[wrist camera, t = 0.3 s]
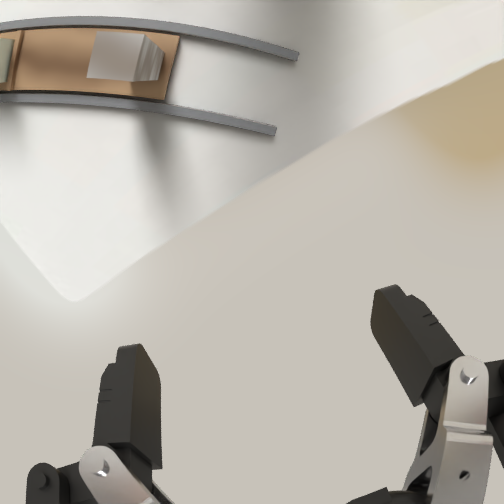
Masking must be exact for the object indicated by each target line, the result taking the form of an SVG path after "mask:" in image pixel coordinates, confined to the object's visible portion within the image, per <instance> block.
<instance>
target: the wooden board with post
mask: <svg viewBox="0 0 504 504" xmlns="http://www.w3.org/2000/svg"><path fill="white" fill-rule="evenodd" d="M0 38H5V39H15V43H14V47H13V52H12V57H11V63H10V68H9V74H8V81H7V82H3V83H0V90H6V91H11V90H65V91H84V92H98V93H109V94H120V95H129V96H137V97H145V98H153V99H160V100H164V99H165V95H166V90H167V86H168V82H169V78H170V74H171V70H172V66H173V62H174V58H175V54H176V51H177V47H178V44H179V40H180V36H176V35H169V34H161V33H153V32H144V31H134V30H121V29H101V28H56V29H38V30H25V31H24V30H17V31H15V32H7V33H0Z"/></svg>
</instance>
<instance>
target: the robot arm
mask: <svg viewBox="0 0 504 504" xmlns="http://www.w3.org/2000/svg"><path fill="white" fill-rule="evenodd" d="M371 329H372V333H373V335H374V337H375V339H376V341H377V342H378V344H379V346H380V348H381V349H382V351H383V352H384V354H385V356H386V358H387V360H388V361H389V363H390V365H391V367H392V368H393V370H394V372H395V374H396V375H397V377H398V379H399V381H400V383H401V384H402V386H403V388H404V390H405V392H406V393H407V395H408V397H409V399H410V401H411V402H412V404H413V406H414V407H416V406H417V405H420V404H422V403H425V405H426V407H427V410H426V412H425V417H424V422H423V427H422V431H421V436H420V440H419V444H418V449H417V452H416V456H415V459H414V462H413V464H412V466H411V467H410V470H409V472H408V474H407V477H406V480H405V483H404V487H403V489H402V491H389V492H388V490H387V487H385V488H383V489H380V490H378V491H376V492H373V493H370V494H368V495H365V496H362V497H359V498H357V499H354V500H352V501H350V502H348V503H347V504H483V501H484V496H485V492H486V487H487V481H488V475H489V469H490V463H491V455H492V448H493V446H494V448H495V450H496V453H497V455H498V457H499V459H500V461H501V463H502V466H503V468H504V360H498V361H493V362H486V363H483V362H482V361H481V360H480V359H478V358H476V357H473V356H465V355H464V354H463V353H462V352H461V350H460V349H459V347H458V346H457V345H456V343H455V342H454V341H453V339H452V338H451V337H450V335H449V334H448V333H447V331H446V330H445V329H444V327H443V326H442V325H441V323H439V322H438V320H437V318H436V317H435V316H434V315H432V312H431V311H430V309H429V308H428V307H427V306H426V304H425V303H424V302H423V301H421V300H419V299H418V298H416V297H415V296H413V295H409V296H406V295H405V293H404V292H403V291H402V289H401V288H400V287H399V286H398V285H391V286H388V287H385V288H381V289H378V290H376V291H375V293H374V300H373V307H372V314H371ZM161 448H162V447H161V383H160V378H159V374H158V371H157V369H156V368H155V366H154V364H153V363H152V361H151V359H150V358H149V356H148V354H147V352H146V351H145V349H144V347H143V346H142V345H141V344H134V345H127V346H122V347H119V348H118V350H117V357H116V363H111V364H108V366H107V368H106V369H105V371H104V373H103V375H102V377H101V383H100V393H99V396H98V404H97V411H96V419H95V428H94V437H93V445H92V447H91V448H90V449H88V450H87V451H86V452H85V453H84V454H83V455H82V457H81V459H80V461H79V462H77V463H74V464H71V465H67V466H64V467H61V468H58V469H56V468H55V467H53V466H51V465H50V464H47V463H39V464H37V465H35V466H34V467H33V468H32V469H31V470H30V472H29V474H28V477H27V489H26V504H174V503H173V502H172V500H171V499H170V498H169V497H167V495H166V494H165V493H164V492H163V491H162V490H161V489H160V488H159V487H158V486H157V484H156V483H155V482H154V481H153V480H152V470H155V469H162V449H161Z"/></svg>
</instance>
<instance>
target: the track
mask: <svg viewBox="0 0 504 504" xmlns="http://www.w3.org/2000/svg"><path fill="white" fill-rule="evenodd" d="M51 26H110V27H126V28H138V29H148V30H157V31H165V32H172V33H179V34H185V35H191V36H197V37H202V38H208V39H213V40H217V41H222V42H227V43H231V44H235V45H239V46H244V47H247V48H251V49H255V50H259V51H263V52H266V53H270V54H273V55H276V56H280V57H283V58H286V59H289V60H293V61H297V59H298V56H299V52H296V51H293V50H290V49H287V48H284V47H280V46H277V45H274V44H270V43H267V42H263V41H260V40H256V39H252V38H248V37H245V36H240V35H236V34H232V33H228V32H223V31H219V30H214V29H209V28H204V27H198V26H192V25H186V24H180V23H173V22H166V21H158V20H149V19H138V18H125V17H104V16H68V17H47V18H35V19H25V20H16V21H9V22H2V23H0V31H6V30H14V29H24V28H35V27H51ZM0 102H44V103H67V104H83V105H95V106H106V107H116V108H125V109H134V110H142V111H149V112H156V113H163V114H169V115H176V116H182V117H187V118H193V119H199V120H204V121H209V122H214V123H219V124H224V125H229V126H234V127H238V128H243V129H247V130H252V131H256V132H260V133H264V134H268V135H272V136H275V133H276V129H277V127H275V126H272V125H268V124H264V123H260V122H256V121H252V120H248V119H243V118H239V117H234V116H230V115H225V114H220V113H215V112H210V111H205V110H200V109H194V108H189V107H183V106H177V105H171V104H164V103H158V102H150V101H143V100H135V99H126V98H117V97H107V96H95V95H81V94H61V93H0Z"/></svg>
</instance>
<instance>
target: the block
mask: <svg viewBox="0 0 504 504" xmlns="http://www.w3.org/2000/svg"><path fill="white" fill-rule="evenodd" d="M14 43H15V39H5V38H0V83H3V82H7V81H8V74H9V68H10V63H11V57H12V52H13V47H14Z"/></svg>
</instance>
